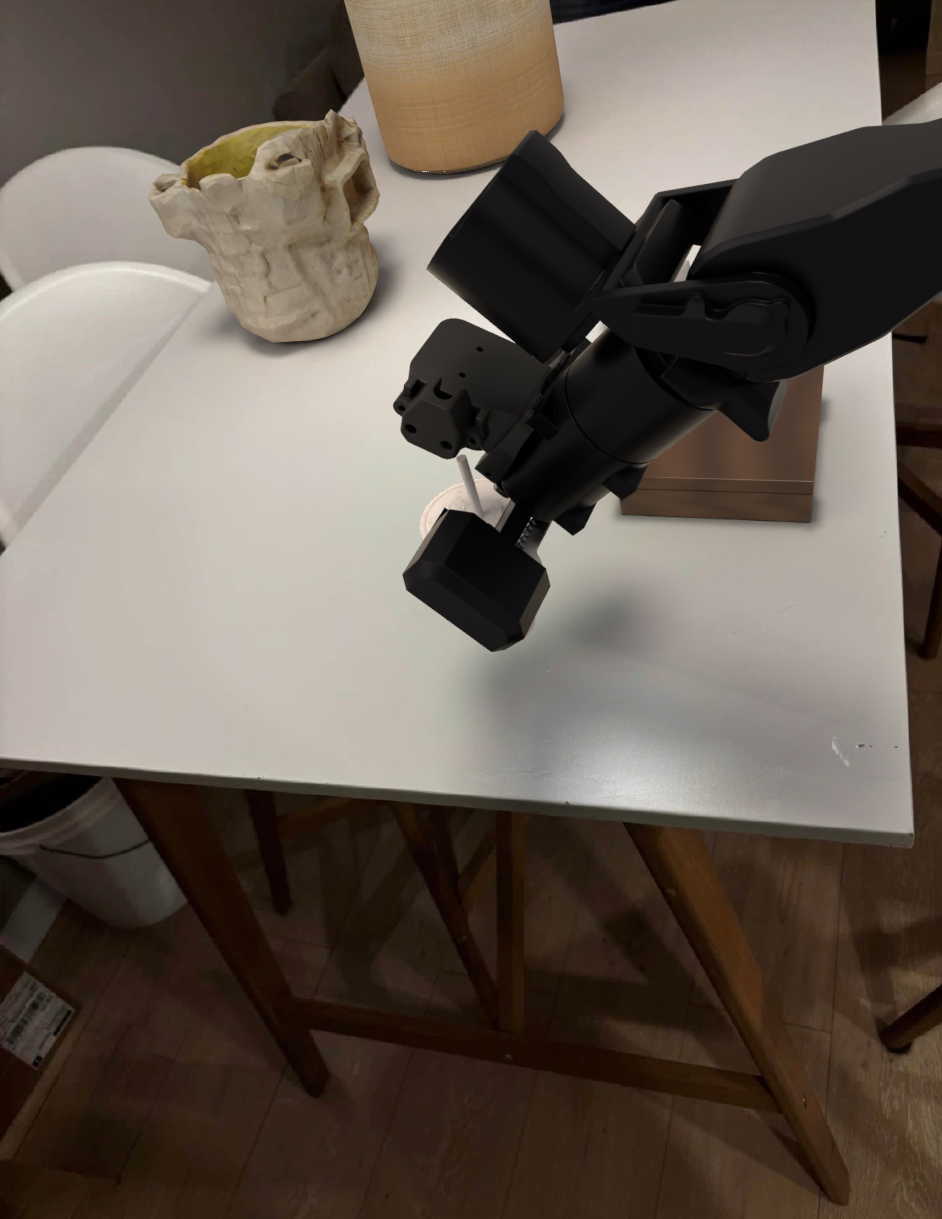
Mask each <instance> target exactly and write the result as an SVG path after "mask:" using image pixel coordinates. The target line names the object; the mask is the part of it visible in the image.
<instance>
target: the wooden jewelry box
mask: <svg viewBox="0 0 942 1219" xmlns="http://www.w3.org/2000/svg"><path fill="white" fill-rule="evenodd" d="M824 374H825V365H824V366H822V367H820V368H818V369H816V370H814V371H812V372H810V373H808V374H805V375H803V376H800V377H798V378H795V379H790V380H787V384H788V388H787V391H786V393H785V396H784V399H783V402H782V404H781V407H780V410H779V413H778V415H777V418H776V421H775V424H774V426H773V429H772V432H771V435H770V437H769V439H768V440H766V441H765V442H756V441H754V440H753V439H751V438H750V437H749V436H748V435H747V434H746V433H744V432H743V431H742V430H741V429H740V428H739V427H737V426H736V425H735V424H734V423H733V422H732V421H731V420H729V419H728V418H727V417H726V416H725V415H723V414H722V413H721V412H718V413H716V414H715V415H714V416H712V417H711V418H710V419H708V420H707V421H706V422H704V423H703V424H701V425H700V426H699V427H697V428H696V429H695V430H693V431H692V432H691V433H689V434H688V435H687V436H685V437H684V438H683V439H681V440H680V441H679V442H677V443H676V444H674V445H673V446H672V447H670V448H669V449H668V450H666V451H665V452H664V453H662V454H661V455H660V456H658V457H657V458H656V459H654V460H653V461H652V462H650V463H649V464H648V466H647V468H646V470H645V473H644V475H643V477H642V479H641V481H640V483H639V485H638V488H637V490H636V492H634V493H633V494H631V495H630V496H629V497H627V498H626V499H624V500H623V501H622V500H621V499H619V498H618V499H619V506H620V507H619V508H620V513H621V515H631V516H652V517H653V516H654V517H655V516H656V517H676V518H677V517H679V518H704V519H705V518H706V519H726V520H727V519H729V520H748V521H749V520H750V521H751V520H752V521H776V522H796V523H797V522H798V523H799V522H800V523H811V522H812V516H813V503H814V492H815V481H816V480H815V479H816V467H817V457H818V444H819V433H820V422H821V412H822V398H823V388H824V387H823V385H824V376H825V375H824Z"/></svg>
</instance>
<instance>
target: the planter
mask: <svg viewBox="0 0 942 1219" xmlns="http://www.w3.org/2000/svg"><path fill="white" fill-rule="evenodd" d="M343 3H344V6H345V9H346V12H347V17H348V20H349V23H350V26H351V31H352V35H353V38H354V41H355V46H356V48H357V52H358V56H359V59H360V64H361V67H362V70H363V74H364V78H365V81H366V84H367V89H368V92H369V97H370V100H371V104H372V107H373V112H374V115H375V119H376V122H377V126H378V129H379V133H380V137H381V141H382V144H383V147H384V149H385V151H386V154H387V156H388V158H389V159H390V160H391V161H392V162H393V163H395V164H396V165H397V166H399V167H402V168H403V169H406V170H410V171H413V172H416V173H421V174H428V175H447V174H456V173H457V174H458V173H464V172H470V171H474V170H478V169H482V168H486V167H488V166H493V165H495V164H498V163H501V162H505V161H506V160H507V159H508V157H509V156H510V154H511V153H512V152H513V150H514V149H515V148H516V147H517V146H518V144H519V143H520V142H521V141H522V139H523V138H524V137H525V136H526V134H527V133H528V132H529V131H530V130H537V131H538V132H539V133H541V134H542V135H543V136H544V137H545V138H546V136H547V135H548V134H549V133H550V131H551V130H552V129H553V128H554V127H555V126H556V124H557V123H558V122H559V121H560V119H561V117H562V116H563V112H564V107H565V101H564V100H565V98H564V97H565V96H564V89H563V88H564V87H563V81H562V74H561V69H560V62H559V56H558V48H557V43H556V37H555V36H556V35H555V30H554V23H553V17H552V10H551V4H550V0H343ZM415 170H416V171H415ZM422 171H427V172H422ZM428 171H429V172H428ZM444 171H445V172H444Z"/></svg>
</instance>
